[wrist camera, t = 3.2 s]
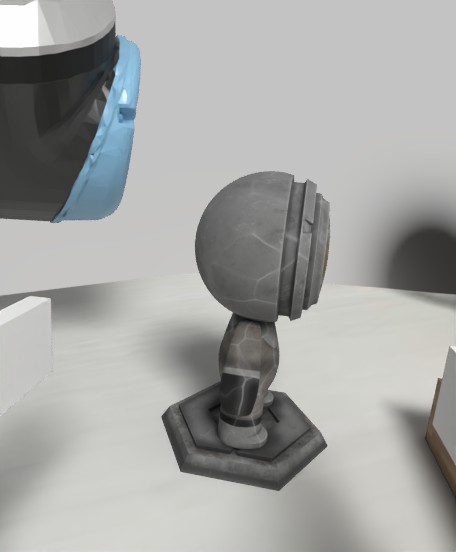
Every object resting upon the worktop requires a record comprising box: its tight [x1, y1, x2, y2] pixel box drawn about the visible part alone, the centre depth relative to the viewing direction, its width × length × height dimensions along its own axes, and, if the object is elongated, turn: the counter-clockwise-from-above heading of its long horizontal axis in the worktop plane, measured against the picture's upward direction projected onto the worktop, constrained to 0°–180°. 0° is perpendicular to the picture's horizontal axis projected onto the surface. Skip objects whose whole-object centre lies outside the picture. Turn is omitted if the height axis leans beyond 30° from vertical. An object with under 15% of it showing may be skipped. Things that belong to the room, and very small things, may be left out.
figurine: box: [162, 172, 330, 491], centre depth 24 cm, size 9×10×15 cm
